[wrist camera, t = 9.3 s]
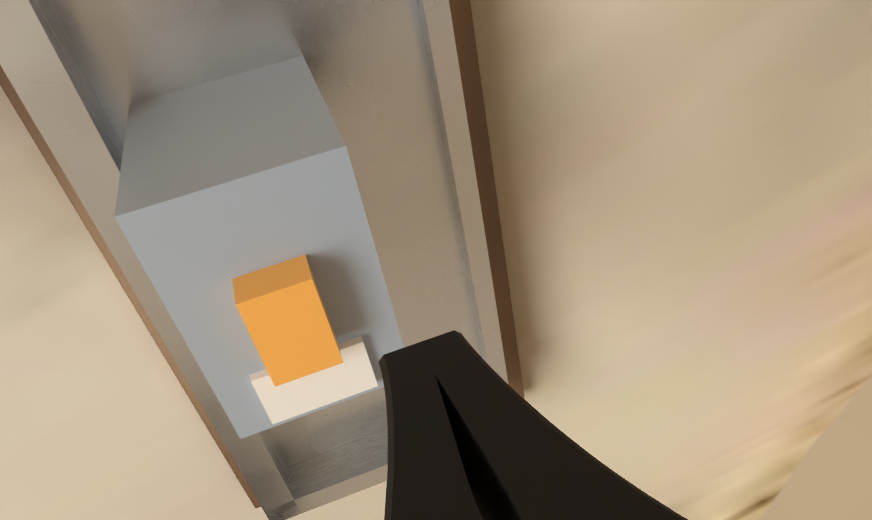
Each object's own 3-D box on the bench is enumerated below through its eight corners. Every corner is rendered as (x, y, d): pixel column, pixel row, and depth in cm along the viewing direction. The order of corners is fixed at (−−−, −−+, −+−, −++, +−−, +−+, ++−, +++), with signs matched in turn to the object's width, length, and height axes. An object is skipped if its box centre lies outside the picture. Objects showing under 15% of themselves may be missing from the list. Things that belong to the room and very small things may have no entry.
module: (302, 55, 16) (355, 165, 11) (364, 256, 19) (422, 401, 15) (129, 105, 15) (110, 242, 11) (226, 302, 19) (243, 467, 14)
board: (374, -594, 12) (385, -615, 11) (517, 392, 28) (525, 406, 27) (-326, -493, 10) (-360, -511, 9) (253, 490, 26) (255, 508, 25)
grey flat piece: (356, -433, 12) (390, -473, 10) (496, 381, 26) (521, 428, 24) (-179, -337, 11) (-253, -363, 9) (264, 467, 24) (271, 524, 22)
